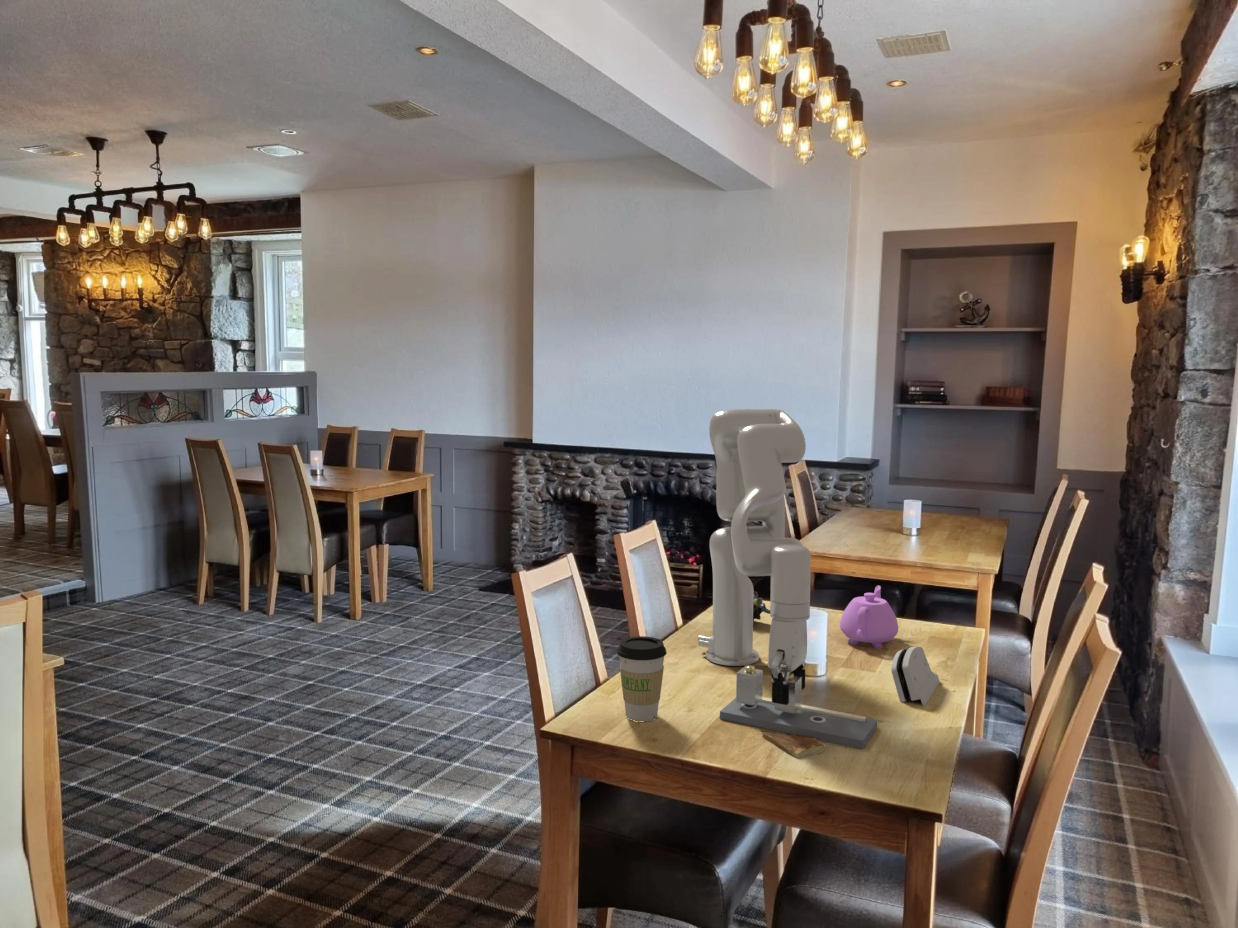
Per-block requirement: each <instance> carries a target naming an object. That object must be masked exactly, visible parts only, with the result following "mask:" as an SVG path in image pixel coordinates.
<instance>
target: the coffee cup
mask: <svg viewBox="0 0 1238 928" xmlns="http://www.w3.org/2000/svg"><path fill="white" fill-rule="evenodd" d="M619 643H620V644H619V645H618V647H617V649H616V654H617V655H618V656H619V657H618V658H619V671H620V680H621V682H620V683H621V687H622V688H621V689H622V695H623V696H622V697H623V702H624V709H625V710H624V711H625V717H626V716H627V718H629V719H632V720H635V721H650V722H653V721H655V720H656V719H657V718H658V713H659V712H658V711H659V703H660V700H661V693H662V685H663V677H664V670H665V669H664V668H665V666H664V662H665V661H664V660H665V657H666V655H667V648H666V647H665V644H664V642H663V640H662V639H659V638H657V637H654V636H653V637H652V636H642V635H641V636H630V637H626V638H624V639H622V640H621V641H620V642H619ZM627 718H626V719H627ZM629 719H628V720H629ZM654 719H655V720H654ZM652 720H653V721H652Z"/></svg>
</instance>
